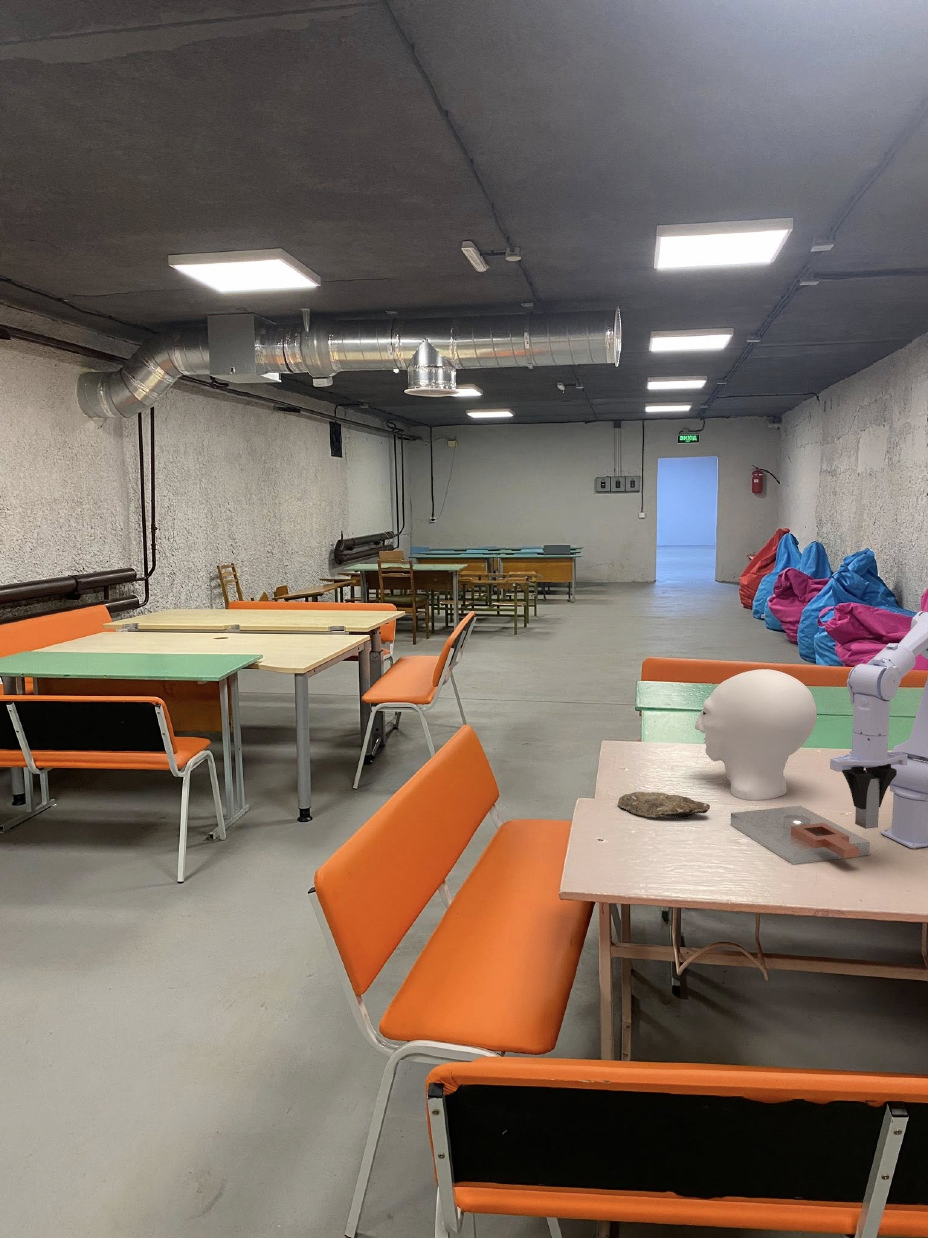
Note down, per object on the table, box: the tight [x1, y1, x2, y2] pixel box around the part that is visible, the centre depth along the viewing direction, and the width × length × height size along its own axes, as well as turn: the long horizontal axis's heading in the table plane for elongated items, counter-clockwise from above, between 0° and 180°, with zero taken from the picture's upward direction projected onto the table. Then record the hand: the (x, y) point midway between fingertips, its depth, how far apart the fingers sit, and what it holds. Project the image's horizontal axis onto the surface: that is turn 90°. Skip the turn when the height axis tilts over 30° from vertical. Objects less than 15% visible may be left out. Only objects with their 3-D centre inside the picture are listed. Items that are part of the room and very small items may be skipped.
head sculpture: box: [694, 668, 818, 801], centre depth 183 cm, size 17×27×28 cm, turn 52°
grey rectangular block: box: [854, 776, 880, 830], centre depth 143 cm, size 3×3×9 cm
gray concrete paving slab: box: [730, 805, 871, 865], centre depth 151 cm, size 16×25×4 cm, turn 13°
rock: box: [617, 791, 711, 819], centre depth 170 cm, size 18×11×4 cm, turn 81°
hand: (867, 806), depth 143 cm, fingers closed on grey rectangular block, 3 cm apart
